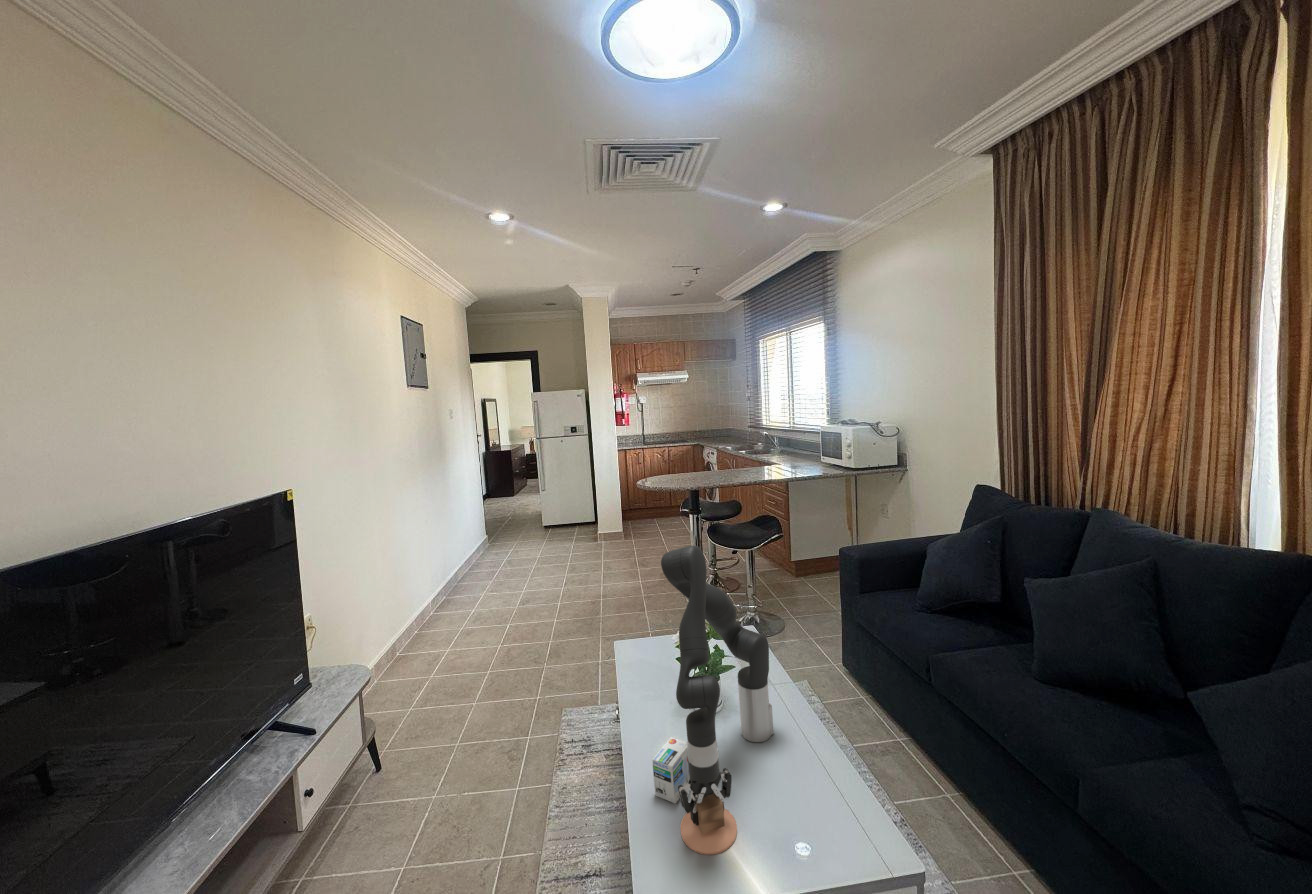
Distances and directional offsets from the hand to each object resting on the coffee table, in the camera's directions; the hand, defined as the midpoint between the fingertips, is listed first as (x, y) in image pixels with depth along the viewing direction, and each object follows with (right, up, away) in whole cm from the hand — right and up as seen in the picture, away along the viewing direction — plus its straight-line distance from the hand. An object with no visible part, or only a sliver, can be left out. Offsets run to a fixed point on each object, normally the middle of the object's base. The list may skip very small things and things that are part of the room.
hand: (707, 817), depth 129 cm
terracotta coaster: (0, -3, 0) cm, 3 cm away
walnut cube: (0, -1, 0) cm, 1 cm away
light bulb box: (-8, -3, +15) cm, 17 cm away
